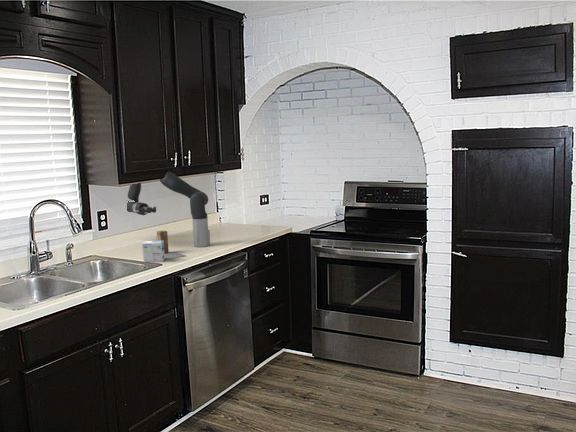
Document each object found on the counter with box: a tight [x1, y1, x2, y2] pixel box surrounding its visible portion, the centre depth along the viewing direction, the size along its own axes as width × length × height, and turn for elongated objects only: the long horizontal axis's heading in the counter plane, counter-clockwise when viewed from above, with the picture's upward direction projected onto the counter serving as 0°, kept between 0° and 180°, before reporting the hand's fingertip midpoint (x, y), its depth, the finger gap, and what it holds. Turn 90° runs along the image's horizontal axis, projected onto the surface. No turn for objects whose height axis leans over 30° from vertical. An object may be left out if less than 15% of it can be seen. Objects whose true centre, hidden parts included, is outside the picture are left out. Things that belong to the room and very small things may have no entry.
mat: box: [164, 251, 187, 261], centre depth 323 cm, size 12×14×1 cm
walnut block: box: [156, 229, 170, 254], centre depth 330 cm, size 4×4×13 cm
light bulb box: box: [142, 240, 166, 263], centre depth 312 cm, size 11×7×11 cm, turn 92°
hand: (152, 211), depth 336 cm, fingers open, 2 cm apart
